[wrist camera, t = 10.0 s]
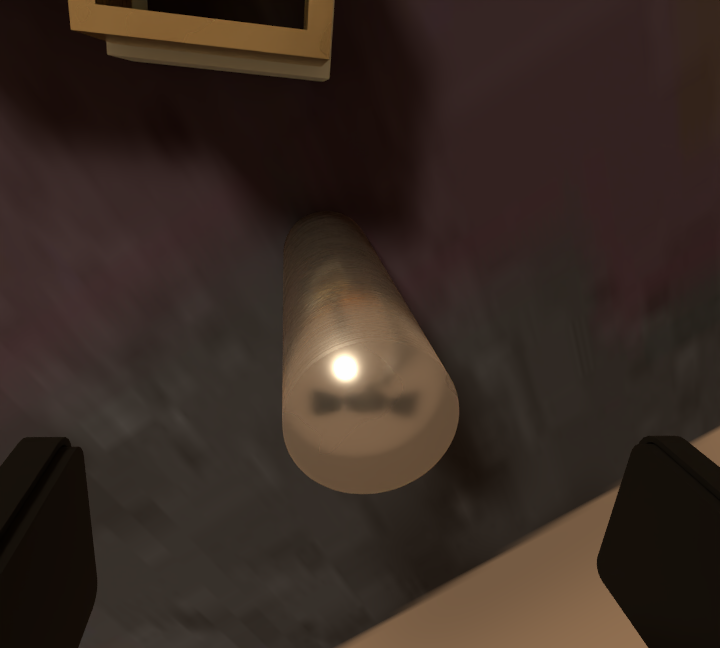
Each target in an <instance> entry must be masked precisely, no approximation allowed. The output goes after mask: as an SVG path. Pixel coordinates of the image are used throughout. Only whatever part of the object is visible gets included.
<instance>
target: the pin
mask: <svg viewBox="0 0 720 648" xmlns="http://www.w3.org/2000/svg"><path fill="white" fill-rule="evenodd" d="M458 419H459V402H458V396H457V392H456V389H455V387H454V384H453V382H452V380H451V379H450V377H449V375H448V373H447V372H446V370H445V368H444V367H443V365H442V363H441V362H440V360H439V358H438V356H437V355H436V353H435V351H434V350H433V348H432V346H431V345H430V343H429V341H428V340H427V338H426V336H425V335H424V333H423V331H422V330H421V328H420V326H419V325H418V323H417V321H416V320H415V318H414V316H413V315H412V313H411V311H410V310H409V308H408V306H407V304H406V303H405V301H404V299H403V298H402V296H401V294H400V293H399V291H398V289H397V288H396V286H395V284H394V283H393V281H392V279H391V278H390V276H389V274H388V273H387V271H386V269H385V268H384V266H383V264H382V263H381V261H380V259H379V258H378V256H377V254H376V252H375V251H374V249H373V247H372V246H371V244H370V242H369V241H368V239H367V237H366V236H365V234H364V232H363V231H362V229H361V228H360V226H359V225H358V224H357V223H356V222H355V221H354V220H352V219H351V218H350V217H348V216H346V215H344V214H342V213H339V212H335V211H318V212H314V213H311V214H309V215H306V216H305V217H303V218H301V219H300V220H299V221H298V222H297V223H296V224H295V225H294V226H293V227H292V228H291V230H290V231H289V233H288V235H287V237H286V240H285V244H284V250H283V407H282V424H283V436H284V441H285V444H286V447H287V450H288V452H289V454H290V456H291V457H292V459H293V461H294V462H295V463H296V465H297V466H298V467H299V468H300V469H301V470H302V471H303V472H304V473H305V474H306V475H307V476H309V477H310V478H311V479H313V480H314V481H316V482H318V483H319V484H321V485H323V486H325V487H328V488H330V489H333V490H337V491H340V492H345V493H352V494H374V493H380V492H386V491H389V490H393V489H396V488H399V487H402V486H404V485H406V484H408V483H410V482H412V481H414V480H416V479H418V478H419V477H421V476H422V475H424V474H425V473H426V472H427V471H429V470H430V469H431V468H432V467H433V466H434V465H435V464H436V463H437V462H438V461H439V460H440V459H441V458H442V456H443V455H444V454H445V452H446V451H447V449H448V448H449V446H450V444H451V442H452V440H453V438H454V435H455V433H456V429H457V425H458Z"/></svg>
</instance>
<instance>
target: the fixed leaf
mask: <svg viewBox="0 0 720 648" xmlns="http://www.w3.org/2000/svg"><path fill="white" fill-rule="evenodd" d="M68 5H69V16H70V26H71V30H73V31H76V32H79V33H82V34H85V35H88V36H91V37H94V38H97V39H100V40H103V41H106V42H110V43H113V44H120V45H129V46H138V47H146V48H155V49H164V50H173V51H182V52H191V53H200V54H209V55H218V56H227V57H236V58H245V59H254V60H262V61H271V62H280V63H289V64H298V65H307V66H316V67H322V66H323V65H324V64H325V63H326V62H327V61H328V60H329V59H330V45H331V29H332V14H333V0H305V10H304V30H302V29H294V28H286V27H278V26H269V25H261V24H253V23H245V22H237V21H229V20H220V19H212V18H204V17H196V16H188V15H180V14H171V13H163V12H155V11H147V10H139V9H133V8H132V0H68Z"/></svg>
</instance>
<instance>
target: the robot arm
mask: <svg viewBox="0 0 720 648" xmlns="http://www.w3.org/2000/svg"><path fill="white" fill-rule="evenodd" d="M597 569H598V573H599V575H600V578H601V579H602V581H603V583H604V584H605V586H606V587H607V589H608V590H609V591H610V593H611V594H612V596H613V597H614V599H615V600H616V602H617V603H618V605H619V606H620V607H621V608H622V610H623V612H624V613H625V614H626V616H627V617H628V619H629V620H630V621H631V623H632V625H633V626H634V628H635V629H636V630H637V632H638V633H639V635H640V636H641V638H642V639H643V641H644V642H645V643H646V645H647V646H648V648H720V467H719V466H717V465H716V464H715V463H714V462H712V461H711V460H710V459H709V458H707V457H706V456H705V455H704V454H702V453H701V452H700V451H699V450H697V449H696V448H695V447H694V446H692V445H691V444H690V443H689V442H688V441H686V440H685V439H683V438H681V437H679V436H647V437H644V438H643V439H642V440H641V441H640V442H639V444H638V445H636V446H635V447H634V448H633V449H632V451H631V454H630V457H629V460H628V464H627V467H626V470H625V473H624V476H623V479H622V482H621V485H620V489H619V492H618V495H617V498H616V501H615V504H614V507H613V510H612V514H611V517H610V520H609V523H608V526H607V529H606V532H605V536H604V538H603V542H602V545H601V548H600V551H599V554H598V558H597ZM96 592H97V573H96V564H95V555H94V546H93V536H92V527H91V518H90V509H89V500H88V491H87V482H86V472H85V463H84V455H83V451H82V449H81V448H80V447H71V443H70V441H69V439H68V438H66V437H27V438H23V439H22V440H21V441H20V442H19V443H18V444H17V446H16V447H15V448H14V450H13V451H12V452H11V453H10V455H9V456H8V457H7V459H6V460H5V461H4V462H3V464H2V465H1V466H0V648H78V647H79V644H80V641H81V638H82V636H83V633H84V630H85V628H86V625H87V622H88V620H89V617H90V614H91V611H92V609H93V606H94V602H95V598H96Z"/></svg>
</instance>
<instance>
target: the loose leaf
mask: <svg viewBox="0 0 720 648" xmlns="http://www.w3.org/2000/svg"><path fill="white" fill-rule="evenodd" d="M334 3H335V0H333V14H332V29H331V45H330V59H329V60H328V61H327V62H326V63H325V64H324V65H323V66H322V67H316V66H307V65H298V64H289V63H280V62H271V61H262V60H254V59H245V58H236V57H227V56H218V55H209V54H200V53H191V52H182V51H173V50H164V49H155V48H146V47H138V46H129V45H120V44H113V43H110V42H106V44H107V55H111V56H114V57H118V58H122V59H126V60H130V61H136V62H145V63H154V64H163V65H173V66H182V67H191V68H200V69H210V70H219V71H228V72H238V73H247V74H256V75H265V76H275V77H284V78H293V79H302V80H312V81H321V82H324V81H326V80H328V79H329V78H330V63H331V48H332V33H333V18H334ZM132 8H133V9H139V10H147V11H148V3H147V0H132Z"/></svg>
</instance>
